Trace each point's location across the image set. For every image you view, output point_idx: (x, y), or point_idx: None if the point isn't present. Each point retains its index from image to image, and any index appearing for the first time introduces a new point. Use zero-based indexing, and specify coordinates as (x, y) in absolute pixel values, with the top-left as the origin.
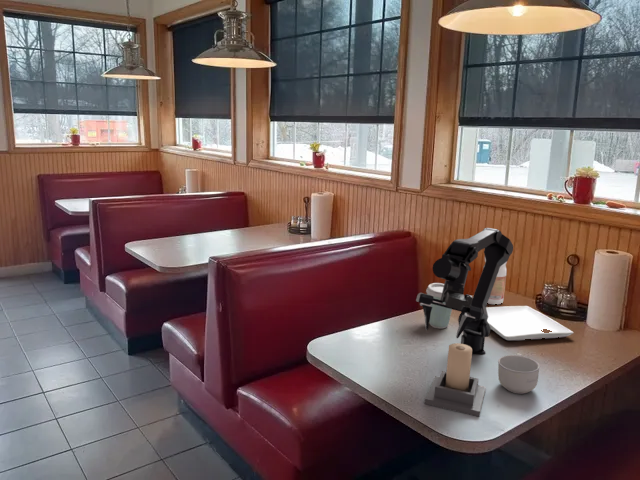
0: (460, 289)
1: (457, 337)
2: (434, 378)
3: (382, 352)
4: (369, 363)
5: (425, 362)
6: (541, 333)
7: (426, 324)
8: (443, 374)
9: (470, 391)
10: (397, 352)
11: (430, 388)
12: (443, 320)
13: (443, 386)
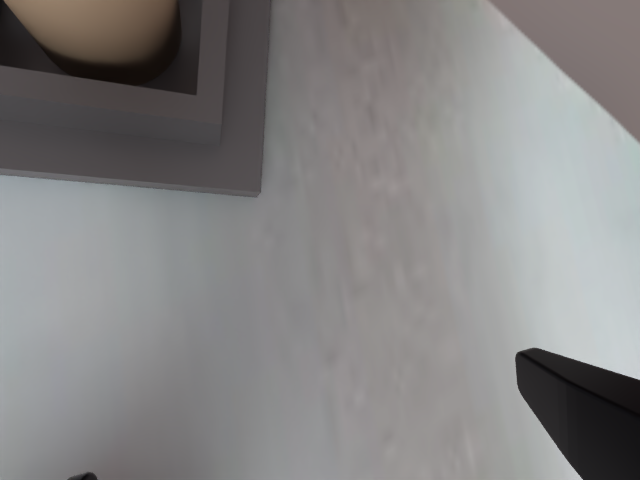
0: None
1: (80, 475)
2: (261, 160)
3: None
4: (568, 258)
5: (340, 405)
6: None
7: (608, 370)
8: (204, 73)
9: (13, 60)
10: (492, 449)
11: (265, 33)
12: None
13: (196, 76)
